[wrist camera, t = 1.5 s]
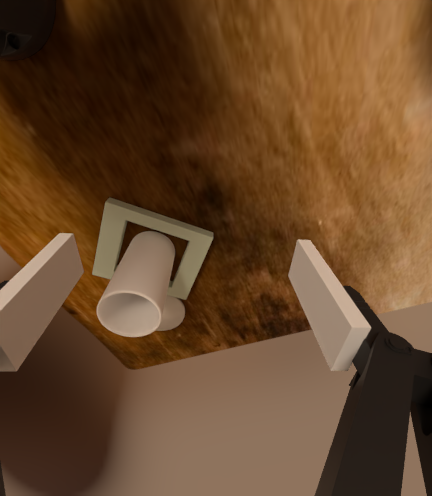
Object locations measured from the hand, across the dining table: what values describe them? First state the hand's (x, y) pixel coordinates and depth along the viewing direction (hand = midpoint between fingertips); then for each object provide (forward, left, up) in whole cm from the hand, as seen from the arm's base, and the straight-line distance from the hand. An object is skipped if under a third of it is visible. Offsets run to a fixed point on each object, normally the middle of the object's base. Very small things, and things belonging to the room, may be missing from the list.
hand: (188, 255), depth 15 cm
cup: (-3, -18, -27) cm, 33 cm away
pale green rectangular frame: (-3, -18, -27) cm, 32 cm away
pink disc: (+2, -32, -27) cm, 42 cm away
